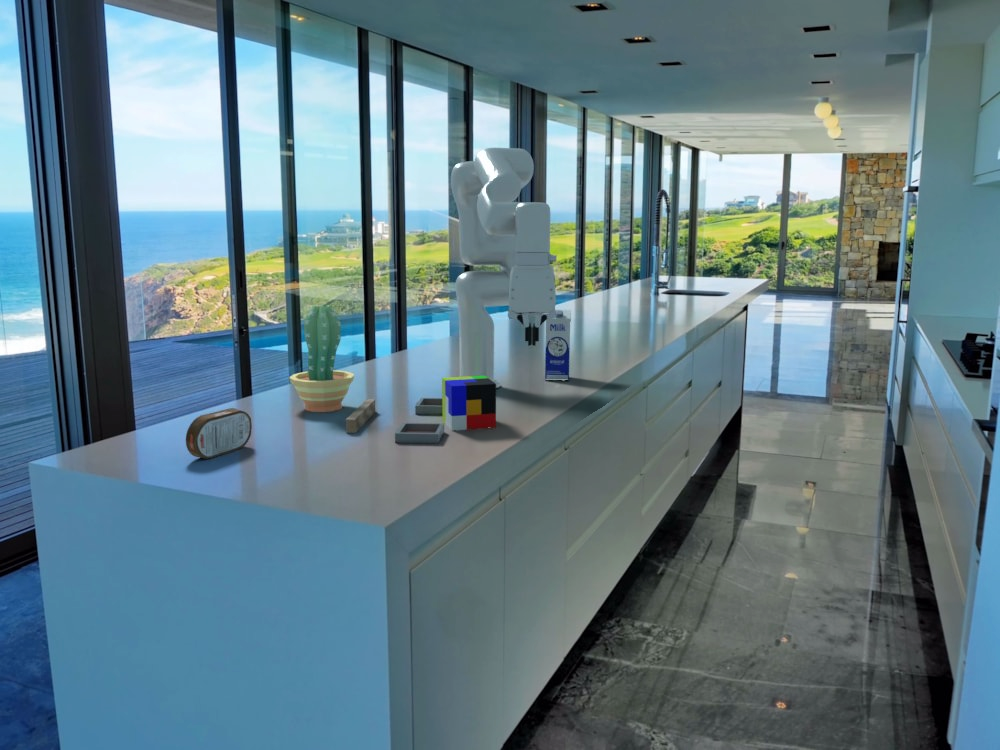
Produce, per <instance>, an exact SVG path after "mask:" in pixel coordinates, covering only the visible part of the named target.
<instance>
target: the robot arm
mask: <svg viewBox="0 0 1000 750" xmlns="http://www.w3.org/2000/svg"><path fill="white" fill-rule="evenodd" d="M534 168H535V165H534V160H533V158H532V155H531V154H530V153H529V152H528V151H527V150H526V149H525V148H524V149H523V148H520V147H519V148H516V147H514V148H513V147H487V148H484V149H482V150H481V151H479V152H478V153H477V154H476V155H475V158H474V160H472V161H471V160H469V161H461V162H459V163H457V164H455V166H453V168H452V170H451V175H450V187H451V192H452V196H453V199H454V202H455V205H456V208H457V211H458V214H457V215H458V232H459V233H458V236H459V253H460V258H461V261H462V263H464V265H467V266H473V267H474V266H476V267H478V266H482V267H483V266H484V267H485V266H486V267H487V266H488V267H489V266H498V267H499V269H500V270H471V271H469V270H468V271H465V272H462V273H461V274H460V275H458V276H457V278H456V280H455V287H454V289H455V294H456V300H457V302H456V303H457V308H458V330H459V331H458V332H459V333H458V335H459V338H458V339H459V349H458V351H459V377H466V376H486V377H487V378H489V379H490V380H491V381H493V382H494V383H496V389H498V388H500V385H501V383H500V381H499V380H497V379H495V323H494V320H493V318H492V316H491V315H490V314H489V312H488V311H487V310H486V307H504V306H508V312H507V317H508V318H511V319H514V320H517V321H518V322H519V323H521V325H523V327H524V342H527V343H528V344H527V345H528V346H536V345H537V342H539V341H540V337H539V336H540V326H542V325H543V324H544V322H546V320H548V319H552V318H556V316H557V314H556V310H557V309H556V300H557V298H556V293H557V292H556V278H555V277H556V276H555V270H554V266H551V263H554V262H557V255H555V254H552V253H551V208H550V205H549V204H548V203H546V202H538V201H537V202H534V201H532V202H531V201H529V202H527V201H526V202H524V201H523V202H521V201H515V200H516V199H518V197H519V196H520V193H521V190H522V189H523V188H524V187H526V186H527V184H529V183H530V181H531V180H532V177H533V175H534ZM546 313H547V314H546ZM529 314H535V319H534V320H535V321H534V323H532V324H531V321H530V317H529ZM532 325H533V326H532Z"/></svg>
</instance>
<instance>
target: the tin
mask: <svg viewBox="0 0 1000 750" xmlns="http://www.w3.org/2000/svg"><path fill="white" fill-rule="evenodd" d="M252 427H253V425H252V418H251V417H250V415H249V413H248V412H246V411H243V410H241V409H238V408H234V407H230V408H225V409H222V410H218V411H213V412H210V413H206V414H201V415H198V417H196V418H195V419H194V420H192V422H190V425H189V427H188V428H187V431H186V435H185V445H186V449H187V452H189V454H190V455H191V456H194V457H195V458H201V459H204V460H205V459H207V460H208V459H209V458H210V459H212V458H213V459H214V458H216V456H217V457H220V456H222V454H223V455H226V454H229V453H232V452H235V450H236V451H237V450H238V449H239V450H240V449H243V448H244V447H245V446H246V445H247V443H248V442H249V440H250V438H251V436H252V430H253V429H252ZM219 455H220V456H219Z"/></svg>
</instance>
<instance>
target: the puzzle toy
mask: <svg viewBox="0 0 1000 750" xmlns="http://www.w3.org/2000/svg"><path fill="white" fill-rule="evenodd" d="M441 383H442V384H441V385H442V386H441V389H442V391H441V393H442V394H441V395H442V396H441V398H442V411H443V415H442V421H443V422H444V424H445V425H446V426H447V427H448V428H449V430H450V431H452V432H453V431H454V430H456V431H466V430H467V431H468V429H471V430H478V429H477V428H486V429H489V428H488V427H496V428H497V388H496V383H494V382H493V381H491V380H490V379H489V378H487V377H486V376H466V377H460V376H453V377H451V376H450V377H442V378H441ZM454 432H455V431H454Z"/></svg>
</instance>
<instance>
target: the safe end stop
mask: <svg viewBox="0 0 1000 750" xmlns="http://www.w3.org/2000/svg"><path fill="white" fill-rule="evenodd" d="M375 412H376V399H373V398H371V399H369V398H367V399H366V400H365V401H363V402H362V403H361V404H360V405H359V406H358V407H357V408H356V409H355V410H354V411H353V412H352V413H351V414H350V415H349V416H347V418H346V419H345V429H346V431H345V432H346V434H356V433H357V432H359V430H360V429H361V428H362V427H363V426H364V425H365V424H366V422H367V421H368V420H369V419H370V418H372V416H373V415H374V414H375Z"/></svg>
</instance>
